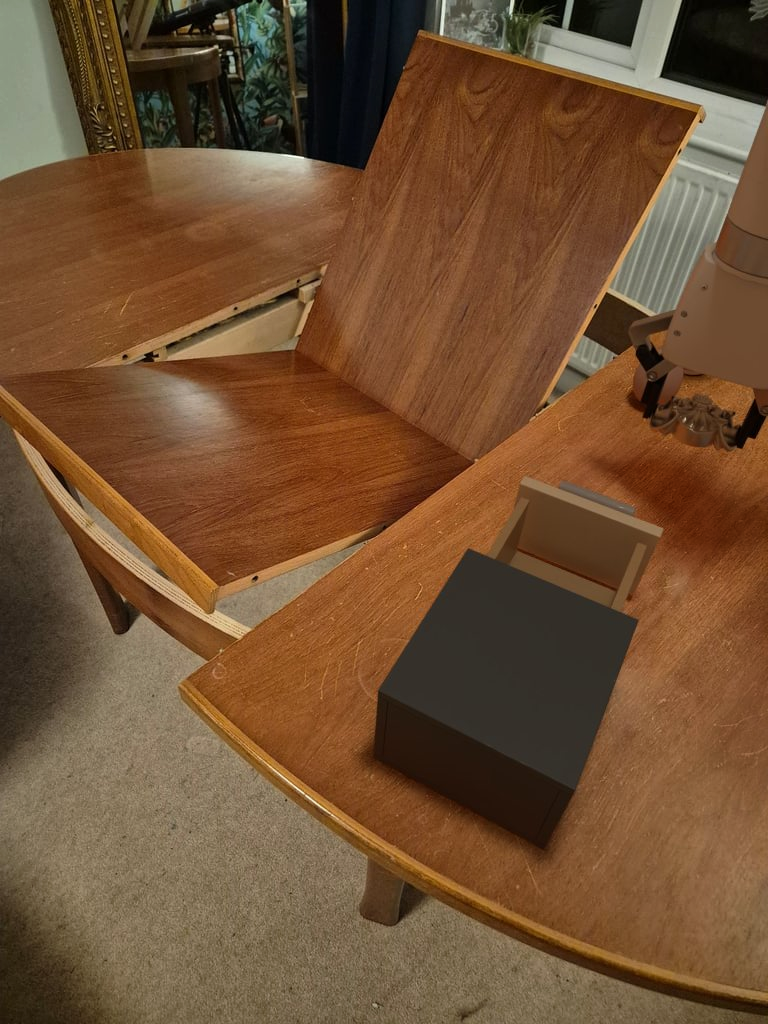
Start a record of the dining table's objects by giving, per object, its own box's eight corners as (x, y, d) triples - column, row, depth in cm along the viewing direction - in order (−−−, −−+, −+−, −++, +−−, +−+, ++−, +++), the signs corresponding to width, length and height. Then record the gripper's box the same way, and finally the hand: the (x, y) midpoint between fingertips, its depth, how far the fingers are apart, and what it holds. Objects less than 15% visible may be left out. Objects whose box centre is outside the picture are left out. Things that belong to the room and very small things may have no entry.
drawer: (525, 508, 74) (540, 448, 68) (648, 556, 70) (675, 497, 64) (450, 636, 62) (461, 577, 57) (592, 702, 59) (618, 646, 53)
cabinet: (454, 620, 65) (467, 547, 58) (605, 689, 61) (639, 619, 54) (372, 757, 56) (377, 690, 49) (543, 850, 51) (575, 790, 45)
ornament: (737, 425, 72) (752, 394, 69) (731, 467, 67) (746, 435, 65) (654, 403, 74) (665, 372, 72) (642, 442, 70) (654, 411, 67)
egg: (678, 401, 89) (699, 349, 84) (661, 423, 86) (682, 370, 80) (636, 384, 91) (655, 332, 86) (619, 405, 88) (636, 352, 83)
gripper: (892, 256, 58) (795, 434, 70) (667, 205, 63) (615, 378, 75) (888, 296, 53) (785, 480, 65) (645, 237, 58) (593, 417, 70)
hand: (694, 424), depth 70 cm, fingers closed on ornament, 8 cm apart
